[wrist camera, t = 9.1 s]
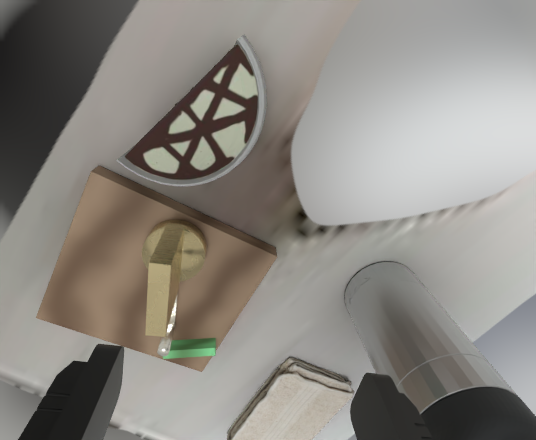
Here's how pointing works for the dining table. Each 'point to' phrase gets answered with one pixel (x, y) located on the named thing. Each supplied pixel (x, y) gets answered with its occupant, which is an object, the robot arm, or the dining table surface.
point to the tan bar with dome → (169, 273)
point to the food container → (206, 125)
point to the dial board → (136, 274)
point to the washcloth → (292, 404)
